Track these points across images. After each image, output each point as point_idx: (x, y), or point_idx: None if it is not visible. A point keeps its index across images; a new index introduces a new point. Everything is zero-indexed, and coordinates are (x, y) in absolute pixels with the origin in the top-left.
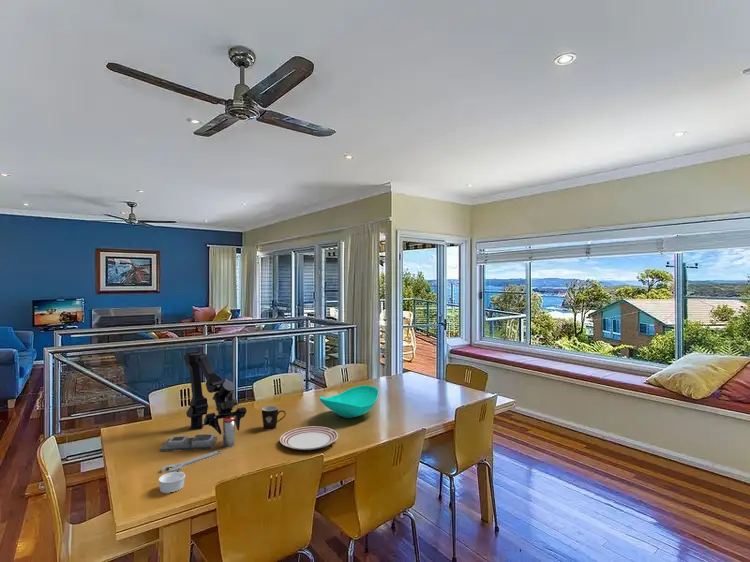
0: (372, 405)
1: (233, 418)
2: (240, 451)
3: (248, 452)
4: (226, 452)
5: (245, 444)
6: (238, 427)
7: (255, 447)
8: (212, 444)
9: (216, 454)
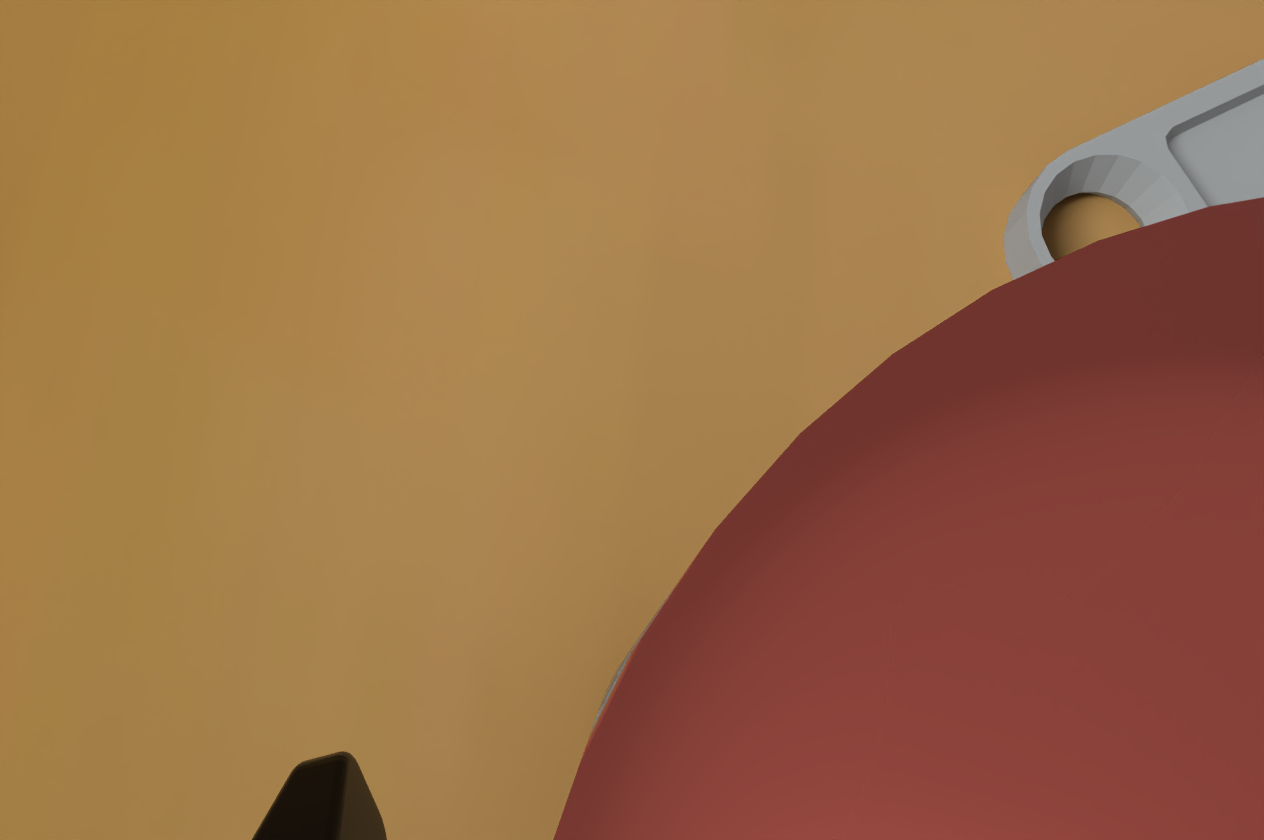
0: None
1: (763, 479)
2: (485, 162)
3: (295, 15)
4: (862, 246)
5: (246, 642)
6: (305, 833)
7: (26, 274)
8: None
9: (1144, 119)
